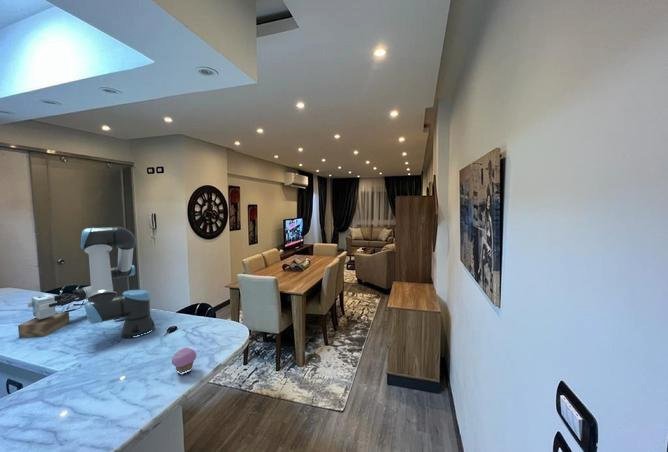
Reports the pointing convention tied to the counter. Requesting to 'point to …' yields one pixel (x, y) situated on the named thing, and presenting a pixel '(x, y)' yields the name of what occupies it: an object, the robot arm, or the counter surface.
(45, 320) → the walnut block
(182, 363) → the cupcake
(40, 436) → the counter surface
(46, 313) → the light bulb box
